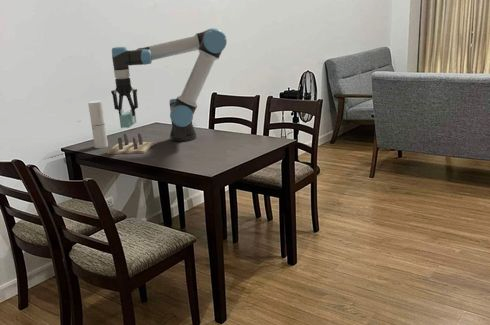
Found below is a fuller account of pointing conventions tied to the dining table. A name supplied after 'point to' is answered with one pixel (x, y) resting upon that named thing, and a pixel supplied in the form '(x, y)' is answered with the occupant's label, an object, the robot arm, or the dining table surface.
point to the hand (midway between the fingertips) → (128, 122)
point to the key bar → (126, 120)
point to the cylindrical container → (98, 124)
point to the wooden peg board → (130, 146)
